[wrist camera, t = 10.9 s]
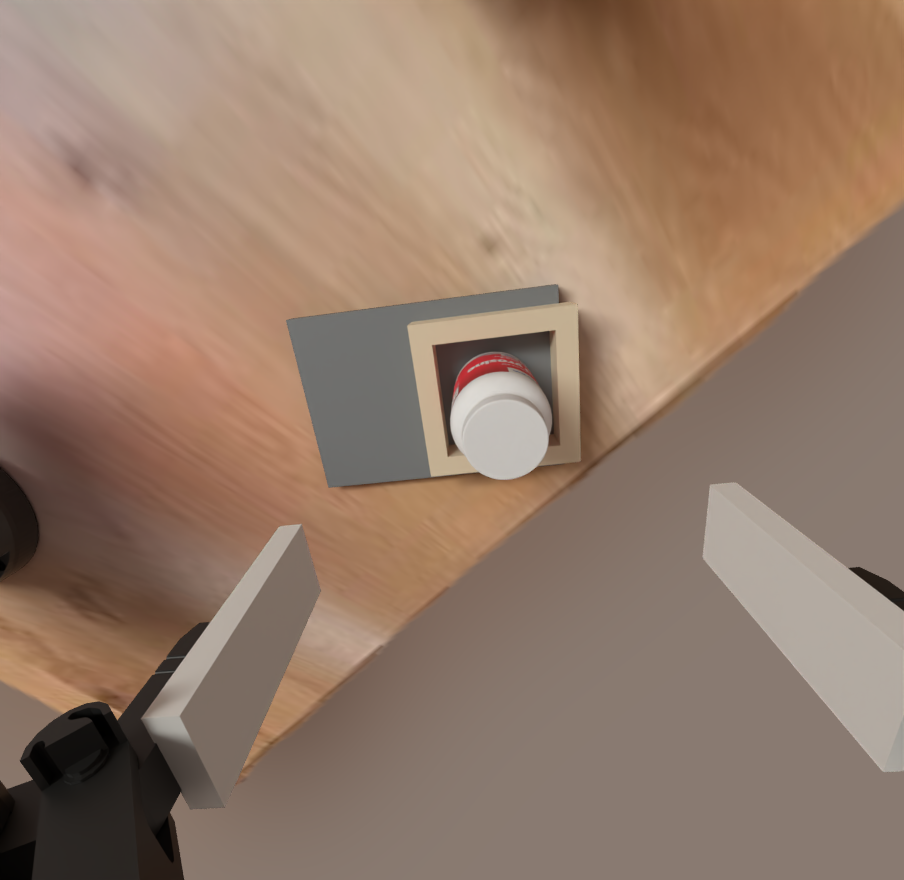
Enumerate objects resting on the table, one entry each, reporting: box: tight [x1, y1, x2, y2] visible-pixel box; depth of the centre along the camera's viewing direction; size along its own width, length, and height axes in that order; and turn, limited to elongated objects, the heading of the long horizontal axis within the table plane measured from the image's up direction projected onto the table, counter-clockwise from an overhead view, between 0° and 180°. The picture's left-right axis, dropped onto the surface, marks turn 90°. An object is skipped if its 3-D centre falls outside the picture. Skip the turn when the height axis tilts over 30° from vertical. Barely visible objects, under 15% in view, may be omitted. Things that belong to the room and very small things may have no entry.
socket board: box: [286, 284, 581, 488], centre depth 33 cm, size 21×14×4 cm
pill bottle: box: [450, 352, 552, 480], centre depth 28 cm, size 6×6×11 cm
